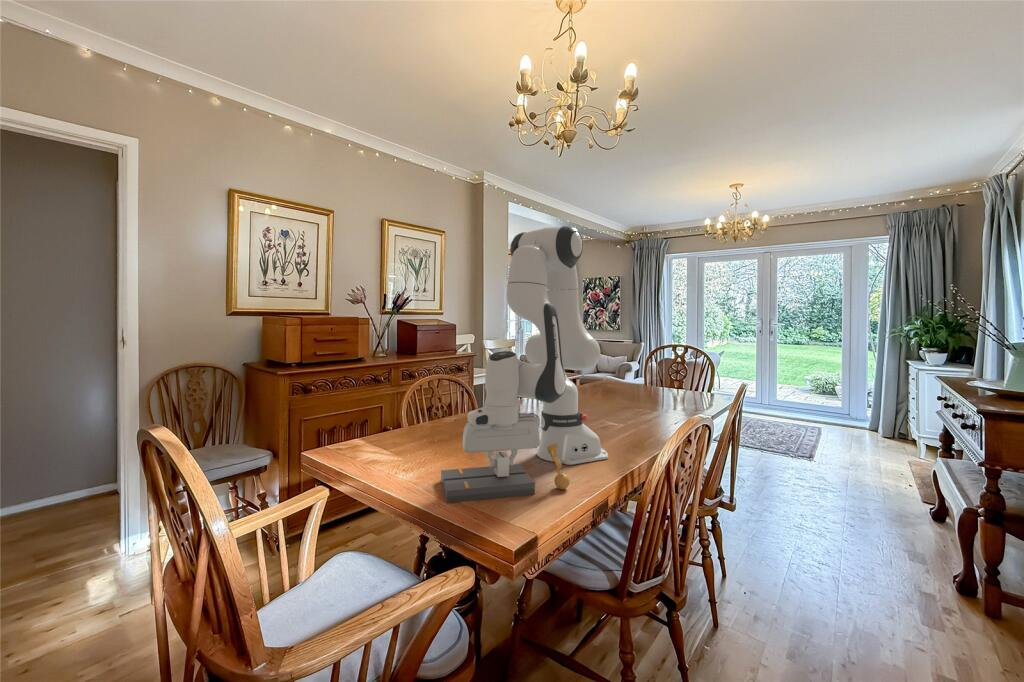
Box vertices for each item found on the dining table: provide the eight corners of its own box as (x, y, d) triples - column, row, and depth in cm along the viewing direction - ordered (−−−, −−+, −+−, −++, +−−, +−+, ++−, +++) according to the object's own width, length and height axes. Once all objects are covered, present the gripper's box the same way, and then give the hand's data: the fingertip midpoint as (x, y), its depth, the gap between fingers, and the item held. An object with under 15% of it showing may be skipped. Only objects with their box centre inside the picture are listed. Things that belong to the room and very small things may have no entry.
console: (519, 474, 125) (519, 463, 125) (534, 494, 112) (534, 481, 111) (440, 481, 119) (440, 469, 119) (447, 503, 106) (447, 489, 106)
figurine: (570, 495, 111) (571, 448, 110) (546, 494, 111) (547, 447, 111) (568, 482, 119) (569, 439, 118) (546, 482, 120) (546, 438, 119)
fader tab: (504, 475, 119) (505, 451, 118) (508, 482, 115) (509, 456, 114) (493, 476, 118) (494, 452, 118) (497, 483, 114) (497, 457, 113)
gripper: (536, 409, 121) (535, 459, 122) (461, 413, 116) (461, 465, 117) (543, 415, 115) (542, 467, 116) (465, 419, 110) (465, 473, 111)
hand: (501, 466), depth 116 cm, fingers closed on fader tab, 3 cm apart
